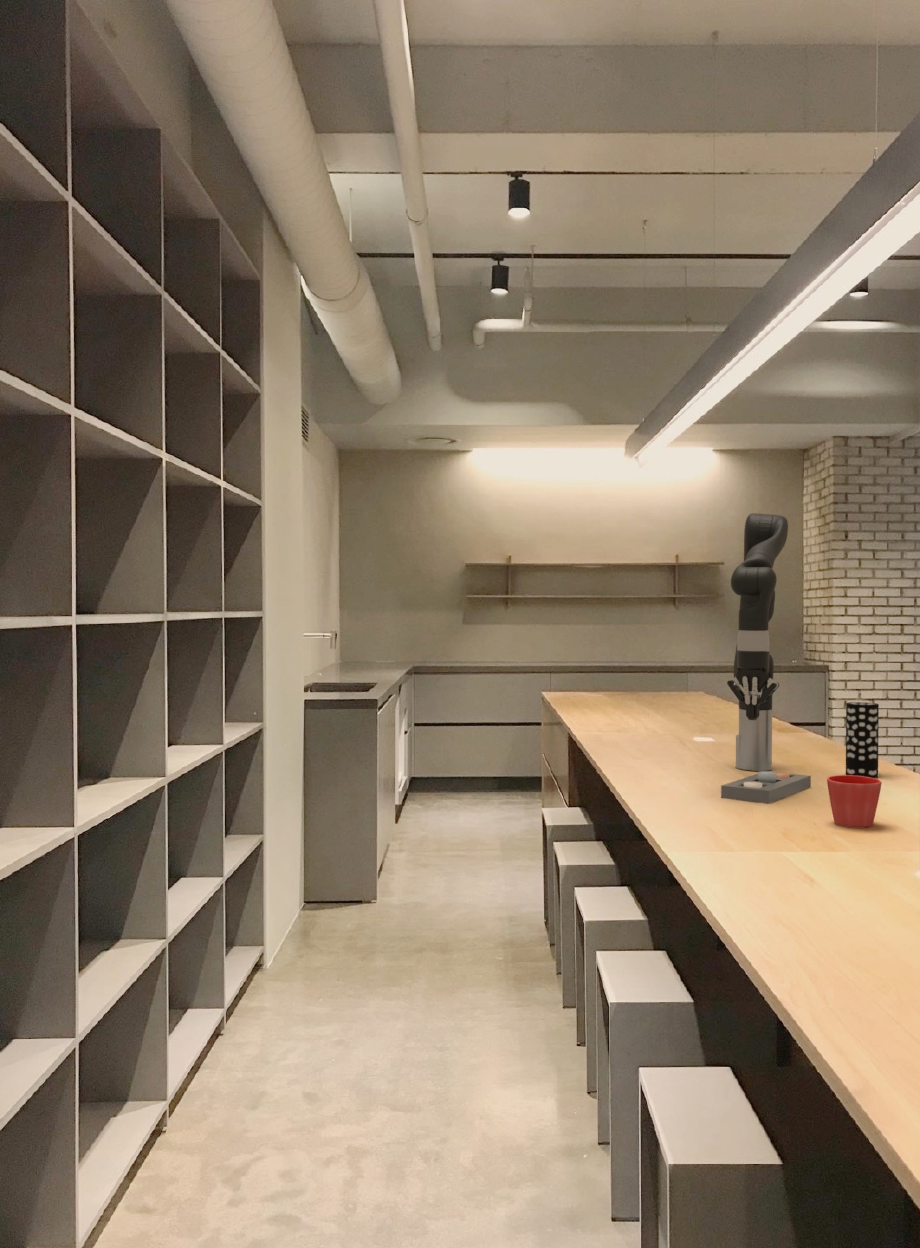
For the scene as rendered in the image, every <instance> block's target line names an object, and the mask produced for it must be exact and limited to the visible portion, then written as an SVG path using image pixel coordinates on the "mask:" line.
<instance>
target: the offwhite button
mask: <svg viewBox="0 0 920 1248" xmlns="http://www.w3.org/2000/svg"><path fill="white" fill-rule="evenodd" d="M744 786H745V787H754V788H762V783H760V782H744Z"/></svg>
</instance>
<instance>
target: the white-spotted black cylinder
mask: <svg viewBox="0 0 920 1248" xmlns="http://www.w3.org/2000/svg"><path fill="white" fill-rule="evenodd" d="M879 708H880V704H879V703H874V702H864V701H863V702H859V701H857V702H856V701H854V702H853V701H851V702H846V703H845V775H854V776H864V777H870V778H875V779H878V778H879V732H880V731H879V729H880V728H879V723H880V722H879V721H880V720H879V717H880V716H879V713H880V711H879V710H880V709H879Z"/></svg>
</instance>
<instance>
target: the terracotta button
mask: <svg viewBox="0 0 920 1248" xmlns="http://www.w3.org/2000/svg"><path fill="white" fill-rule="evenodd" d="M775 772H776V777H779V778H790V774H791V773H789V774H788V772H779V771H778V772H777V771H775Z"/></svg>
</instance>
